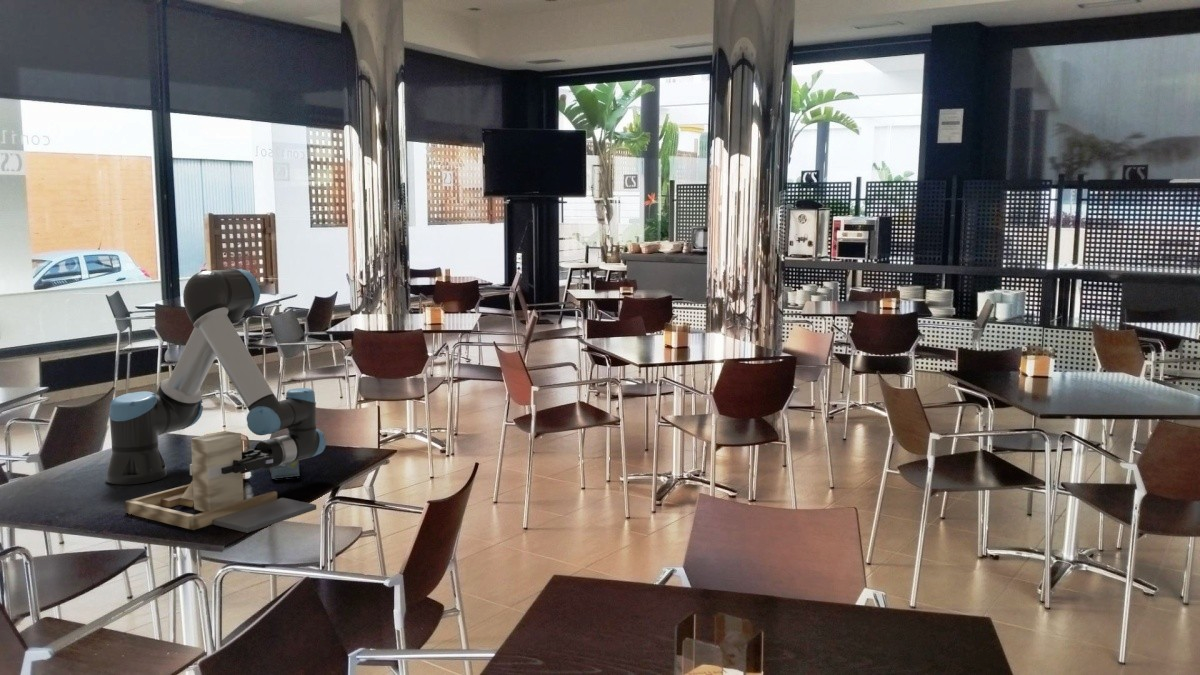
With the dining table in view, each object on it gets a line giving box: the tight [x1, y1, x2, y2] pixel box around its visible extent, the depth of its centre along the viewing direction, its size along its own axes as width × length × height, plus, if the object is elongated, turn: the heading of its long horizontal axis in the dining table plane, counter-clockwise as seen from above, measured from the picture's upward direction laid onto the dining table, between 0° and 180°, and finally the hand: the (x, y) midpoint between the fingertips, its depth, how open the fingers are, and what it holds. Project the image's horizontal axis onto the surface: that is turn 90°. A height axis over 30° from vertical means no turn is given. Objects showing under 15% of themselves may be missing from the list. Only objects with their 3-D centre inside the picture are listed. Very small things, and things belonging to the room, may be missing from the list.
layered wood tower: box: [190, 430, 245, 512], centre depth 237 cm, size 6×10×18 cm, turn 150°
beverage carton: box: [269, 460, 300, 480], centre depth 272 cm, size 8×19×7 cm, turn 21°
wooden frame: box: [124, 483, 278, 531], centre depth 236 cm, size 26×24×3 cm
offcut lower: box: [160, 493, 184, 509], centre depth 242 cm, size 4×11×2 cm, turn 149°
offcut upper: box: [179, 480, 194, 508], centre depth 240 cm, size 3×9×2 cm, turn 5°
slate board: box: [212, 497, 317, 534], centre depth 229 cm, size 12×21×1 cm, turn 150°
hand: (199, 471), depth 232 cm, fingers closed on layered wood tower, 6 cm apart
